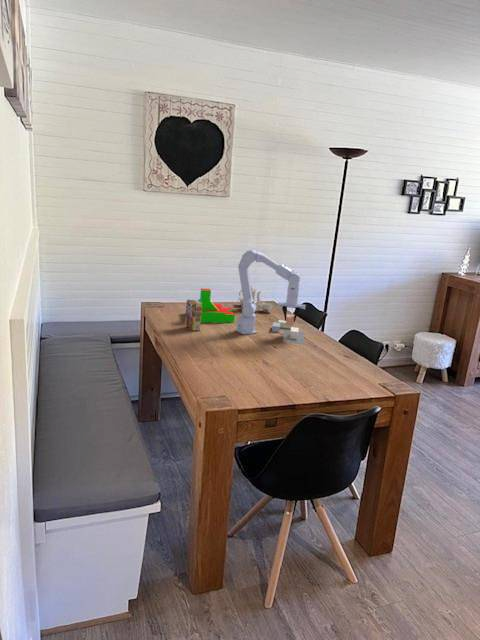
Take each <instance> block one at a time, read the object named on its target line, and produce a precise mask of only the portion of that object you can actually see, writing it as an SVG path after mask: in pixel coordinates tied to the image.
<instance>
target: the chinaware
mask: <svg viewBox="0 0 480 640" xmlns="http://www.w3.org/2000/svg"><path fill="white" fill-rule="evenodd" d="M251 291H252V297H253V299H254V303H255V304H256V306H257V309H256V310H258V309H259V308H260V307H261V310H262V311H263V312H264V313H266V312H267V313H271V312H272V310H273V307H275V305H274V303H272V302H264V301H263V302H261V297H260V293H261V291H258V292H257V289H255V287H253V286H252V285H251ZM256 292H257V293H256ZM241 293H242V289H240V291H239V294H238V295H239V297H238V299H236V301H237V302H236V303H239V304H240V305H241V306H240V307H241V309H243V296H242V295H241ZM238 300H239V301H238Z"/></svg>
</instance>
